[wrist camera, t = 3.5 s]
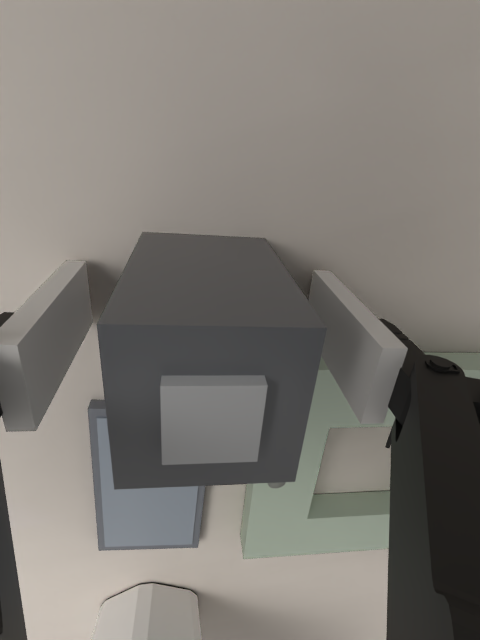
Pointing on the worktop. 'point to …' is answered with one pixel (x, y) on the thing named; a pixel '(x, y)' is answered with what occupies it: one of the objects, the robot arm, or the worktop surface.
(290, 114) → the worktop surface
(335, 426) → the outlet plate
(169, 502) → the phone
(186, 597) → the cup
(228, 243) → the block
